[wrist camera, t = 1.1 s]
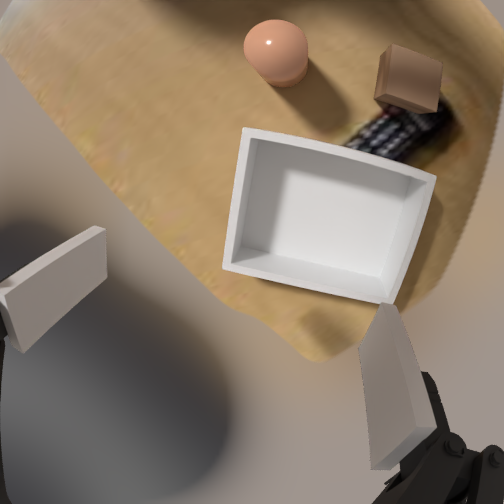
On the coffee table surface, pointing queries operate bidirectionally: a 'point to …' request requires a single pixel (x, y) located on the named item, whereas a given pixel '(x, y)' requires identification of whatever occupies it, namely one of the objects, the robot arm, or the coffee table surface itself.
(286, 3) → the coffee table surface
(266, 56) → the round-ended peach cylinder
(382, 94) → the walnut cube
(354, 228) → the tote
